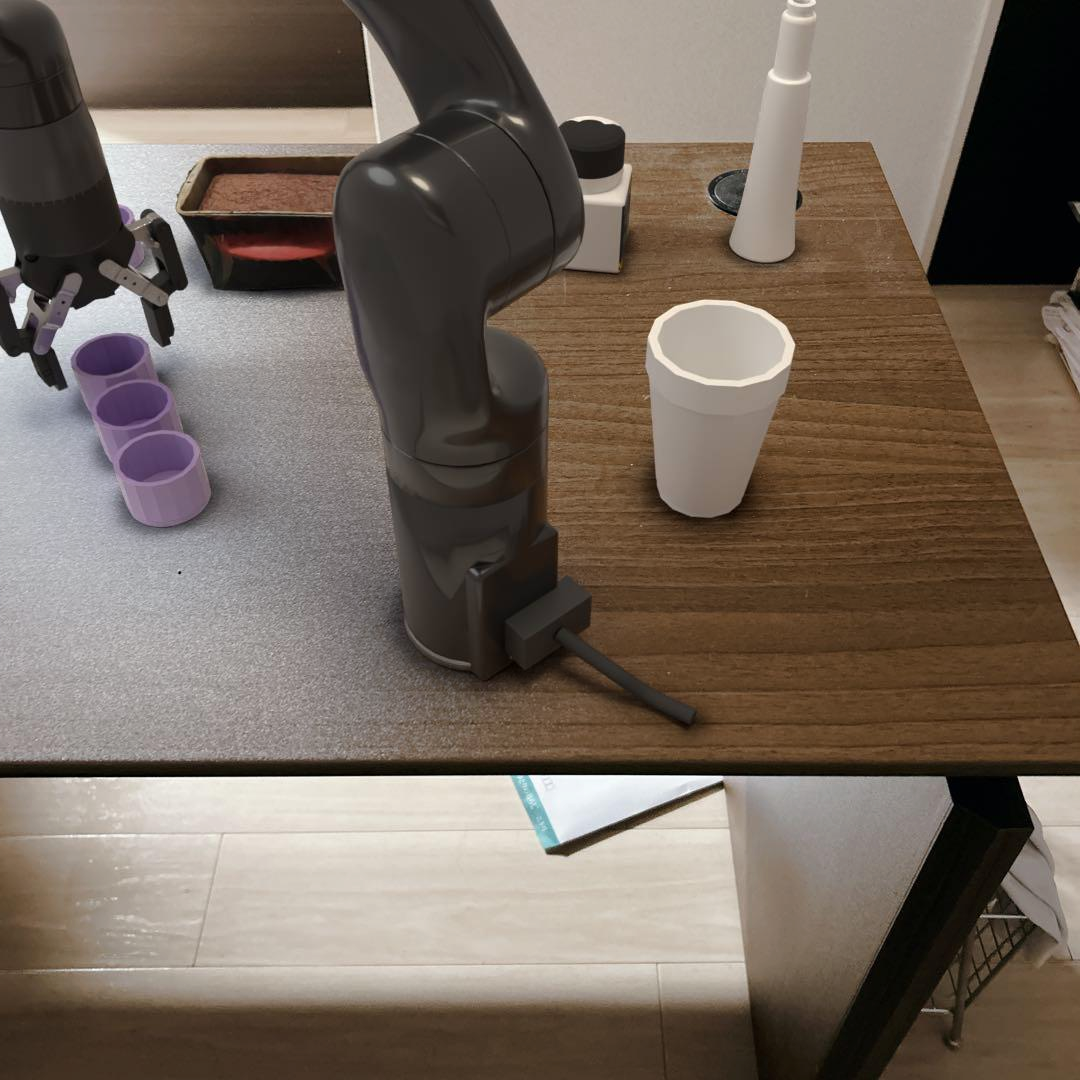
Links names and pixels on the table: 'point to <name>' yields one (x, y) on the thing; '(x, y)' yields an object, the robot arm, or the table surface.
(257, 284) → the baking dish
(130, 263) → the dish far
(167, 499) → the dish
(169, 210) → the table surface
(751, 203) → the cosmetic bottle
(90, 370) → the dish
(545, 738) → the table surface
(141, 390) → the dish
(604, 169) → the medicine bottle
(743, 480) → the foam cup
